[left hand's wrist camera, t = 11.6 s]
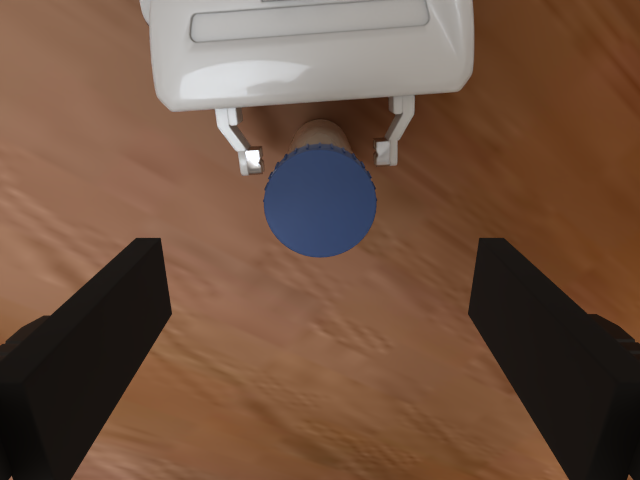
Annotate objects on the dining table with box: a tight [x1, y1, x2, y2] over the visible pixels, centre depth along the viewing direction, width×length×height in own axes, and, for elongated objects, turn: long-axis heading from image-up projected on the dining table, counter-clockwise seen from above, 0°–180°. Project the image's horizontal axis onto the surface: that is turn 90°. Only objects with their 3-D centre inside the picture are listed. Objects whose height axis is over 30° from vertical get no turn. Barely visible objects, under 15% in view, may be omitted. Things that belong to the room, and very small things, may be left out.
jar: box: [287, 119, 353, 154], centre depth 29 cm, size 5×5×16 cm
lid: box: [263, 142, 377, 257], centre depth 21 cm, size 6×6×2 cm
